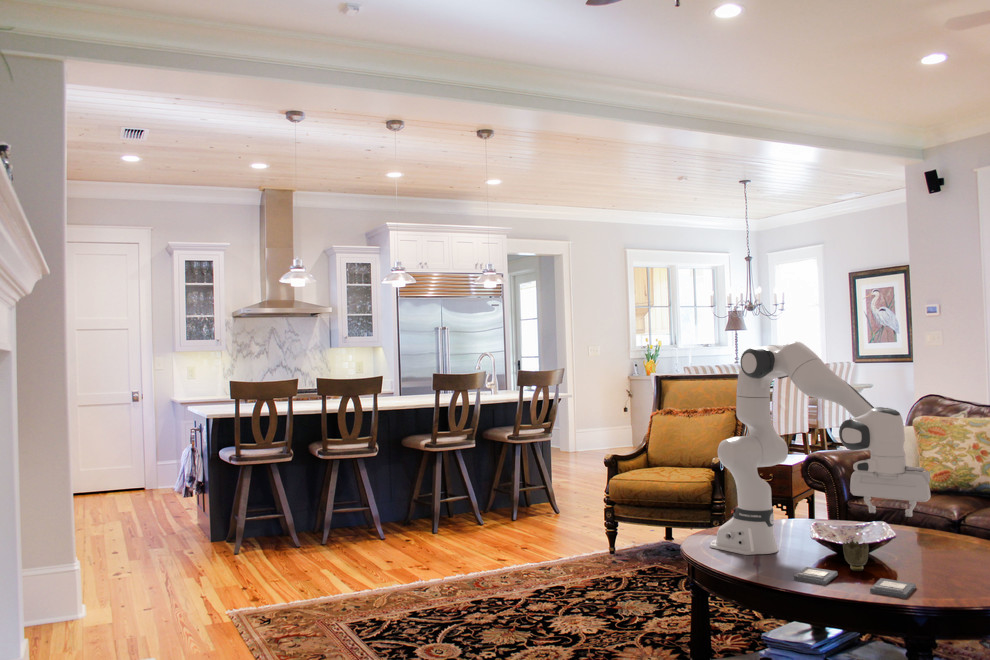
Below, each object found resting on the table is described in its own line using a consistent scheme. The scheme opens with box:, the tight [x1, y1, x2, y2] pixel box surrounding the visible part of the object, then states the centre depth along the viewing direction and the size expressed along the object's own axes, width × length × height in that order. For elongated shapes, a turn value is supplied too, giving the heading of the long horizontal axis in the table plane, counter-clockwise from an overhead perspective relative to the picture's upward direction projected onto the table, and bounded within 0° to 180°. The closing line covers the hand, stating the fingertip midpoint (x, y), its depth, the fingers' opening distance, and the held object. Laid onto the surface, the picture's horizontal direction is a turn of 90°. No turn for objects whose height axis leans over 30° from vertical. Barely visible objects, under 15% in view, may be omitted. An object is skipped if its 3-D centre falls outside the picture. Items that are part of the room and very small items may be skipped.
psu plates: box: [793, 566, 917, 600], centre depth 220 cm, size 30×12×2 cm, turn 50°
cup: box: [842, 540, 870, 572], centre depth 233 cm, size 8×7×8 cm
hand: (890, 514), depth 214 cm, fingers open, 8 cm apart
